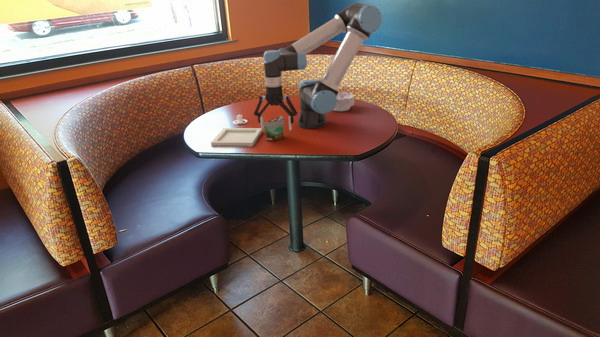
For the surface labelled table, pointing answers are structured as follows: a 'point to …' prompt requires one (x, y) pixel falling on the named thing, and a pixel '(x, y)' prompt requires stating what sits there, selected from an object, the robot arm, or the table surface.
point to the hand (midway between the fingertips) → (276, 129)
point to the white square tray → (237, 137)
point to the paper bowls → (344, 101)
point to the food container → (274, 129)
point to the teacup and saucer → (239, 120)
